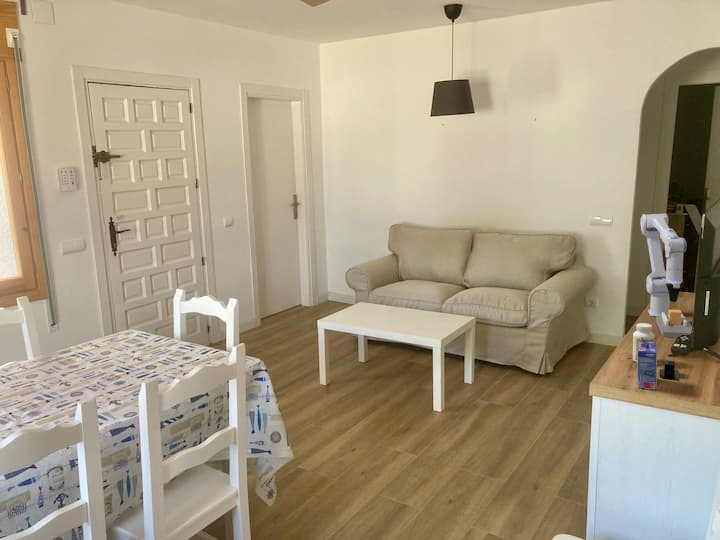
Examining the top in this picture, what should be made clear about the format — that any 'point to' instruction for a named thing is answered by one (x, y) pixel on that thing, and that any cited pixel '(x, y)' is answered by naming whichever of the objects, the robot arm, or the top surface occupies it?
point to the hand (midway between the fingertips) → (673, 301)
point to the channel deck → (673, 326)
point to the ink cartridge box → (647, 365)
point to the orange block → (674, 317)
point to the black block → (669, 371)
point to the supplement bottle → (642, 336)
